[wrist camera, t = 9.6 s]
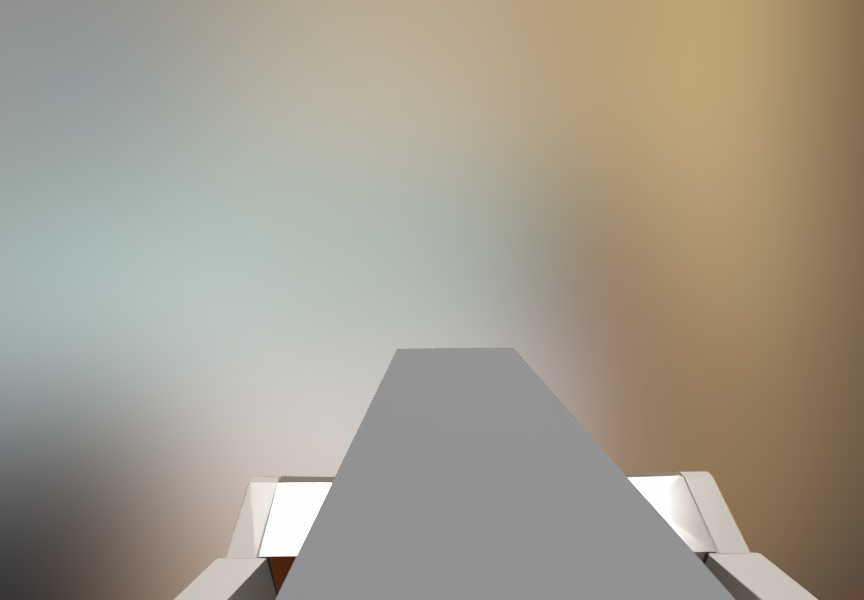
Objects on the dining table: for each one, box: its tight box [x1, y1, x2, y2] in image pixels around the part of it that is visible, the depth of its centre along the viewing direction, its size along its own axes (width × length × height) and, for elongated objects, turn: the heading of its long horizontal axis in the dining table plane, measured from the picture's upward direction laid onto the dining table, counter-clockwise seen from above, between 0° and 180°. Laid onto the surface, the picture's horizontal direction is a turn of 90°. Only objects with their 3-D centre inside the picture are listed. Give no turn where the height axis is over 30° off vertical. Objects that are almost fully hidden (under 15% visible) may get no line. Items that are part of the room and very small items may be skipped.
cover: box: [275, 348, 736, 600], centre depth 16 cm, size 5×20×2 cm, turn 179°
